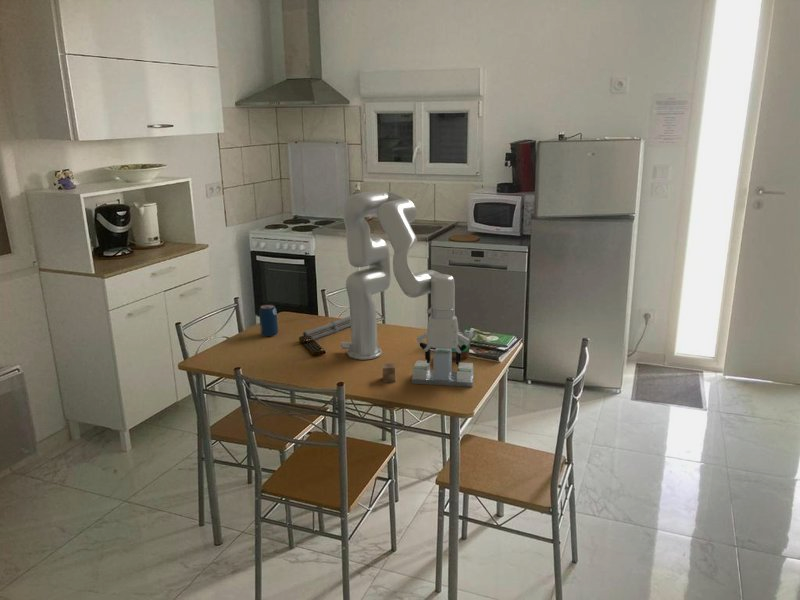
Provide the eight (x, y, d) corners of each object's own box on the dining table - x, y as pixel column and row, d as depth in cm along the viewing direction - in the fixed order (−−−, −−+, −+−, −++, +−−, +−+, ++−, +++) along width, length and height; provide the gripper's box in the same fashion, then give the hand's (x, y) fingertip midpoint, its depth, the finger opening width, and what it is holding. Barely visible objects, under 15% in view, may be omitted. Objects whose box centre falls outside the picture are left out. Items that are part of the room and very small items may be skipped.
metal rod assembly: (308, 344, 255) (307, 332, 253) (303, 342, 256) (302, 330, 255) (353, 327, 273) (353, 315, 272) (349, 326, 275) (348, 314, 274)
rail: (411, 383, 215) (411, 368, 214) (415, 373, 223) (415, 359, 221) (472, 386, 211) (472, 371, 210) (474, 377, 219) (474, 362, 218)
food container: (439, 362, 233) (439, 335, 230) (438, 355, 239) (438, 329, 236) (474, 361, 232) (474, 335, 230) (472, 355, 238) (473, 329, 236)
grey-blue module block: (433, 379, 214) (433, 353, 211) (437, 371, 221) (436, 345, 218) (448, 380, 213) (448, 354, 210) (451, 372, 220) (451, 346, 217)
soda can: (282, 333, 267) (279, 305, 264) (270, 338, 261) (267, 309, 258) (269, 330, 271) (267, 303, 267) (257, 335, 265) (255, 307, 262)
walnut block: (383, 382, 217) (382, 368, 215) (382, 377, 221) (382, 363, 219) (395, 381, 217) (394, 367, 216) (394, 377, 221) (394, 363, 220)
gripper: (414, 315, 209) (415, 365, 214) (468, 317, 205) (468, 368, 210) (418, 308, 216) (419, 357, 221) (470, 310, 212) (470, 359, 217)
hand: (443, 362), depth 215 cm, fingers open, 9 cm apart
